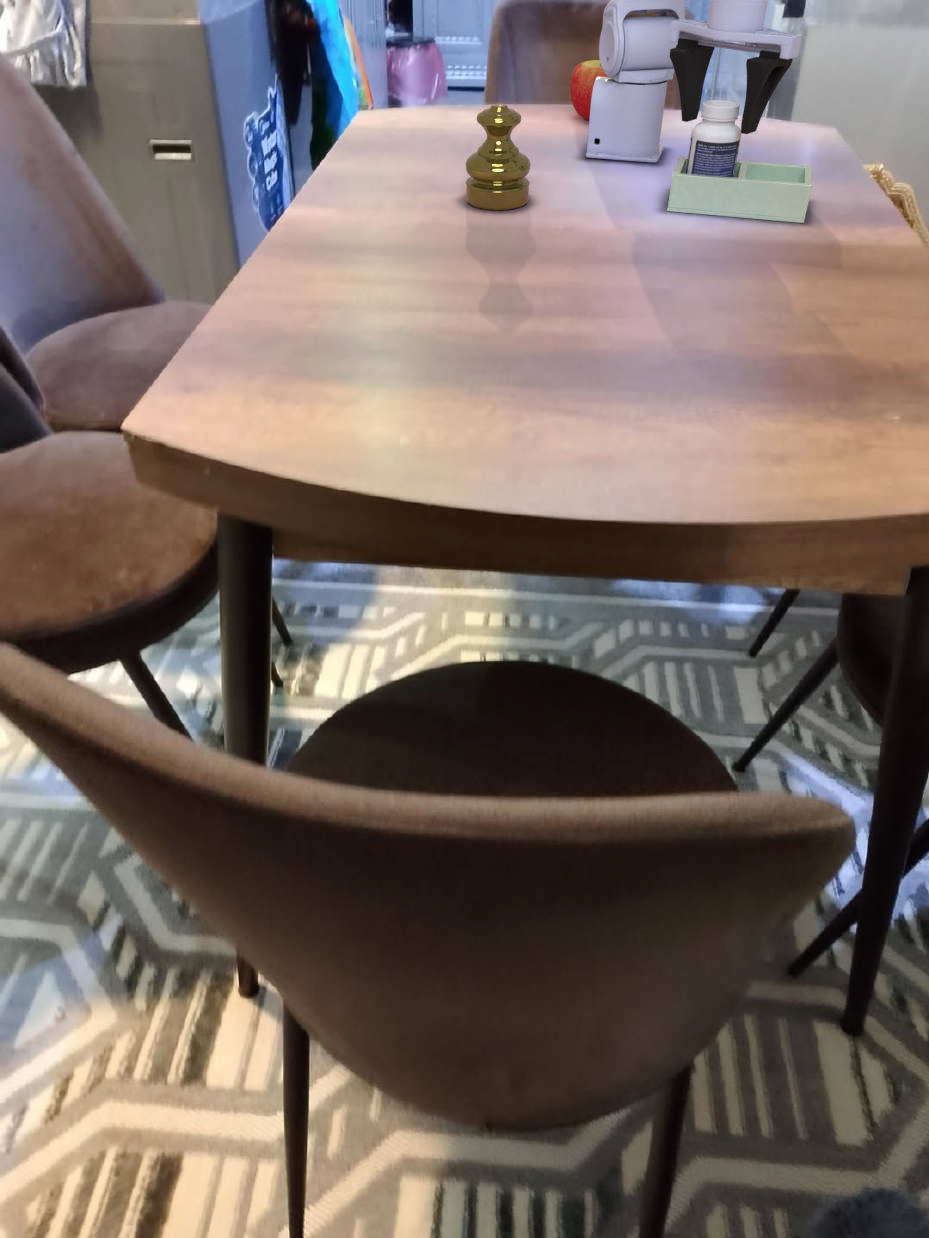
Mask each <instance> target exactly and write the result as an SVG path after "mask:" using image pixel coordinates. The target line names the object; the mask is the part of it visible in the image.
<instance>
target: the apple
mask: <svg viewBox="0 0 929 1238" xmlns="http://www.w3.org/2000/svg"><path fill="white" fill-rule="evenodd" d="M597 77H608V76H606V74H605V72H604V70H603V69H602V67H601V64H600V59H597V60H596V59H593V60H586V61H582V62H579V64H577V65H576V66H575V67H574V69H573V71H572V73H571V78H570V84H569V95H570V99H571V104H572V106H573V108H574V110H575V112H576V114H577V115H578V116H579V117H580V118H582V119H583V120H586V121H589V119H590V107H591V98H592V91H593V86H594V82H595V80H596V78H597Z"/></svg>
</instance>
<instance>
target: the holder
mask: <svg viewBox="0 0 929 1238" xmlns="http://www.w3.org/2000/svg"><path fill="white" fill-rule="evenodd" d="M687 161H688V156H684V155H683V156H682V155H679V157H678V160H677V163H676V165H675V167H674V169H673V172H672V175H671V180H670V189H669V195H668V202H667V209H666V211H667V212H673V213H674V212H675V213H685V214H696V215H709V216H718V217H729V218H730V217H731V218H741V219H742V218H743V219H753V220H763V221H775V222H786V223H787V222H788V223H798V224H804V223H805V219H806V216H807V211H808V207H809V204H810V203H809V202H810V198H811V193H812V190H813V166H812V165H803V164H789V163H775V162H764V161H763V162H762V161H748V160H737V162H736V168H735V173H734V177H722V176H709V175H696V174H686V168H687Z"/></svg>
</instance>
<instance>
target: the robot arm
mask: <svg viewBox="0 0 929 1238" xmlns="http://www.w3.org/2000/svg"><path fill="white" fill-rule="evenodd" d="M709 1H710V2H709V8H708V14H707V20H697V19H695V20H694V19H686V2H685V0H609V2H608V3H607V4H606V6H605V7H604V9H603V13H602V26H601V32H600V36H599V41H598V43H599V44H598V57H599V60H600V64H601V67H602V69H603V70H604V72H605V74H606V76H608V77H597V78H596V80H595V82H594V86H593V91H592V98H591V107H590V119H589V120H588V130H587V145H586V153H585V158H589V159H603V160H612V161H613V160H614V161H615V160H616V161H627V162H638V163H639V162H640V163H654V164H657V163H658V162H659V160H660V158H661V156H662V153H663V152H664V150H665V144H663V143H661V134H662V126H663V119H664V112H665V111H664V110H665V104H666V96H667V89H668V81H671V80H674V74H675V77H676V80H677V85H678V92H679V101H680V112H681V122H686V123H688V122H691V121H694V120H697V119H698V116H699V113H700V108H701V103H702V98H703V97H702V96H703V91H704V83H705V81H706V80H705V79H706V76H707V73H708V68H709V65H710V63H711V60H712V57H713V54H714V51H715V49H716V48H718V49H726V50H733V51H738V52H739V51H740V52H746V53H753V54H759V55H758V56H754V57H750V58H747V59H746V63H745V66H746V67H745V68H746V91H745V99H744V100H745V101H744V107H743V111H742V116H741V117H742V118H741V124H740V130H741V134H742V135H743V134H744V135H749V134H752V133H755V132H757V129H758V127H759V124H760V121H761V119H762V116H763V114H764V113H765V110H766V107H767V105H768V103H769V102H770V99H771V97H772V95H773V93H774V92H775V90H776V88H777V87H778V85H779V84H780V82H781V80H782V79H783V78H784V76H785V74H786V73H787V72H788V70H790V67H791V66H792V63H793V60H794V58H798V57H799V53H800V48H801V43H802V38H803V34H798V33H792V32H788V31H782V30H778V29H774V28H769V27H765V19H766V13H767V8H768V4H769V0H709ZM638 14H655V15H654V16H631V17H630V16H628V17H626V16H627V15H638ZM735 42H736V43H735ZM742 43H743V44H742Z"/></svg>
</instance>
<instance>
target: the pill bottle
mask: <svg viewBox="0 0 929 1238" xmlns="http://www.w3.org/2000/svg"><path fill="white" fill-rule="evenodd" d="M740 107H741V104H740V103H739V102H737V101H733V100H727V99H711V100H710V99H709V100H706V101H703V102H702V108H701V112H700V117H701V119H702V120H701V122H698V123H697V124H695V126H693V128H692V130H691V136H690V142H689V148H688V149H689V150H688V154H687V157H688V161H687V168H686V174H696V175H709V176H722V177H734V173H735V168H736V162H737V161H738V156H739V151H740V144H741V139H742V133H741V127H739V125H737V124H736V121H737V120H738V119H739V118H738V117H739V114H740Z"/></svg>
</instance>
